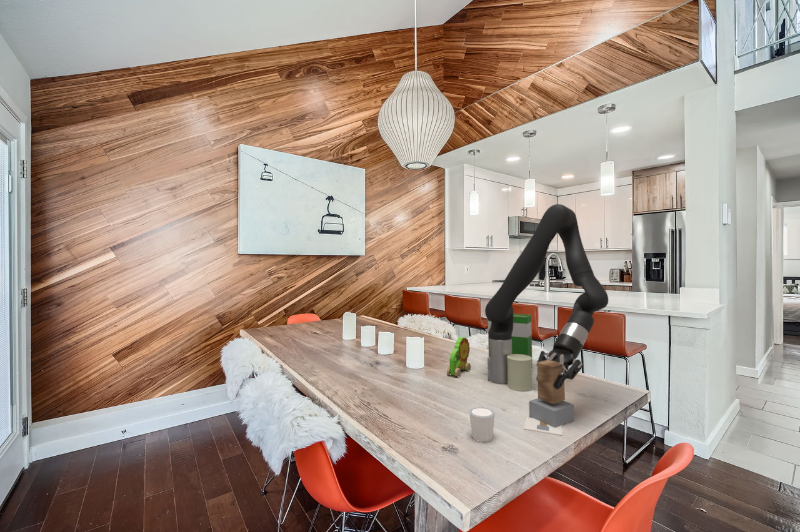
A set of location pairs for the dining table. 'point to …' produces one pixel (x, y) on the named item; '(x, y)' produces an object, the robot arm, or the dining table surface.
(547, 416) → the base block
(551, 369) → the walnut brick
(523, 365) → the can
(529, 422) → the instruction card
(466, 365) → the toy lion
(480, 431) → the shot glass
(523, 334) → the green banded block
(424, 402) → the dining table surface
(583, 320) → the robot arm
